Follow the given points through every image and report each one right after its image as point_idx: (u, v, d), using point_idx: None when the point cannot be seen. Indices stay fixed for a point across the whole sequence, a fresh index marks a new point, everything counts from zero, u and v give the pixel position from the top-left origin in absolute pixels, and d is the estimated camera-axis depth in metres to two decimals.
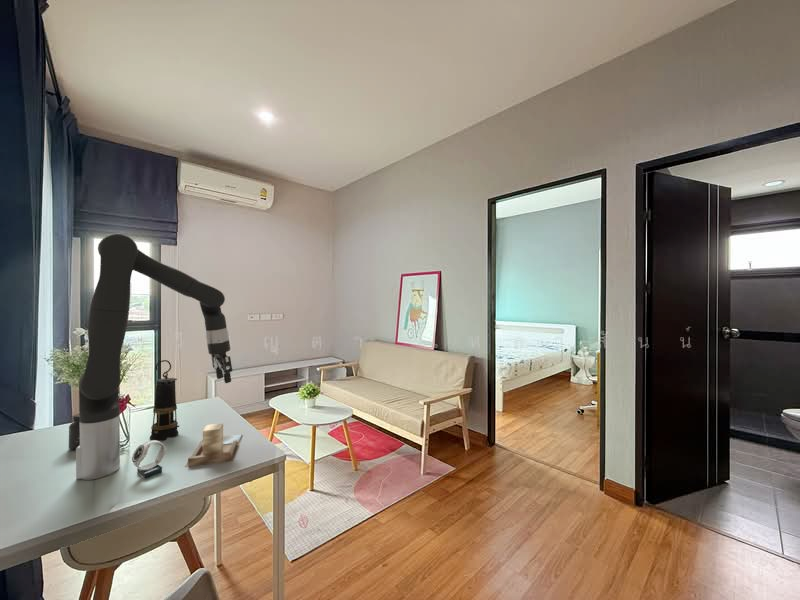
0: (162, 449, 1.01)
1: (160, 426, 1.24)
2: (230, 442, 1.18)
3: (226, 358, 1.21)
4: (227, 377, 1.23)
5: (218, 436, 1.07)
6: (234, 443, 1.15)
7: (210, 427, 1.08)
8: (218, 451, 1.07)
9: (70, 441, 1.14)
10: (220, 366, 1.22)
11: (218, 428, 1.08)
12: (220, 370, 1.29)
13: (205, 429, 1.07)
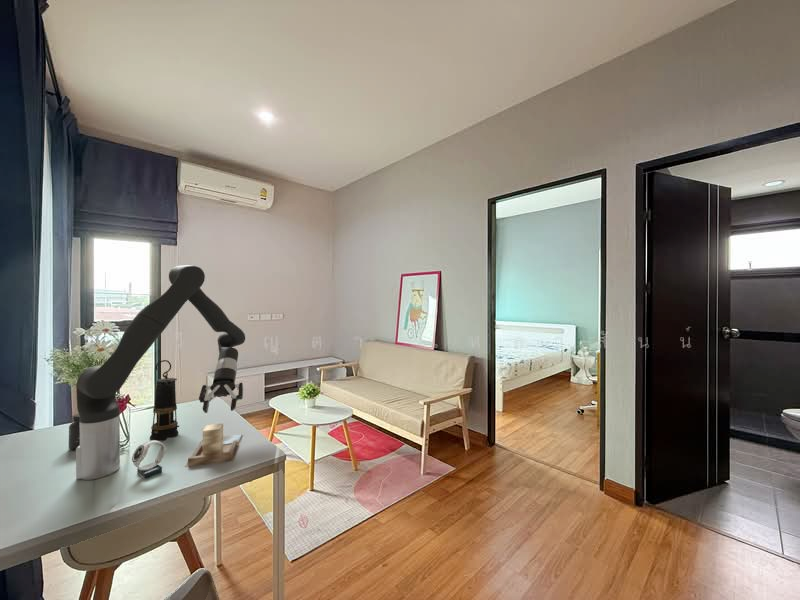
0: (162, 449, 1.01)
1: (160, 426, 1.24)
2: (230, 442, 1.18)
3: (242, 384, 1.25)
4: (235, 403, 1.20)
5: (218, 436, 1.07)
6: (234, 443, 1.15)
7: (210, 427, 1.08)
8: (218, 451, 1.07)
9: (70, 441, 1.14)
10: (232, 390, 1.21)
11: (218, 428, 1.08)
12: (208, 404, 1.18)
13: (205, 429, 1.07)
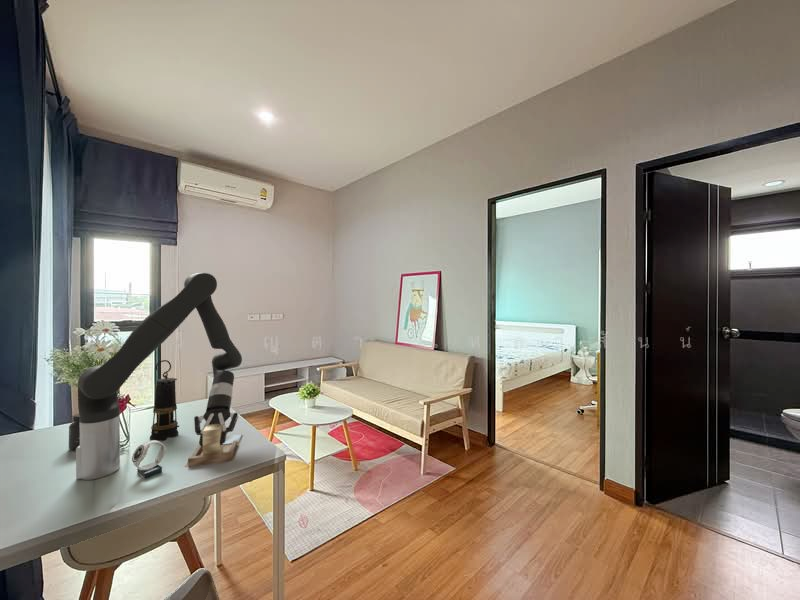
0: (162, 449, 1.01)
1: (160, 426, 1.24)
2: (230, 442, 1.18)
3: (237, 415, 1.15)
4: (225, 436, 1.10)
5: (218, 436, 1.07)
6: (234, 443, 1.15)
7: (210, 427, 1.08)
8: (218, 451, 1.07)
9: (70, 441, 1.14)
10: (224, 421, 1.11)
11: (218, 428, 1.08)
12: None
13: (205, 429, 1.07)
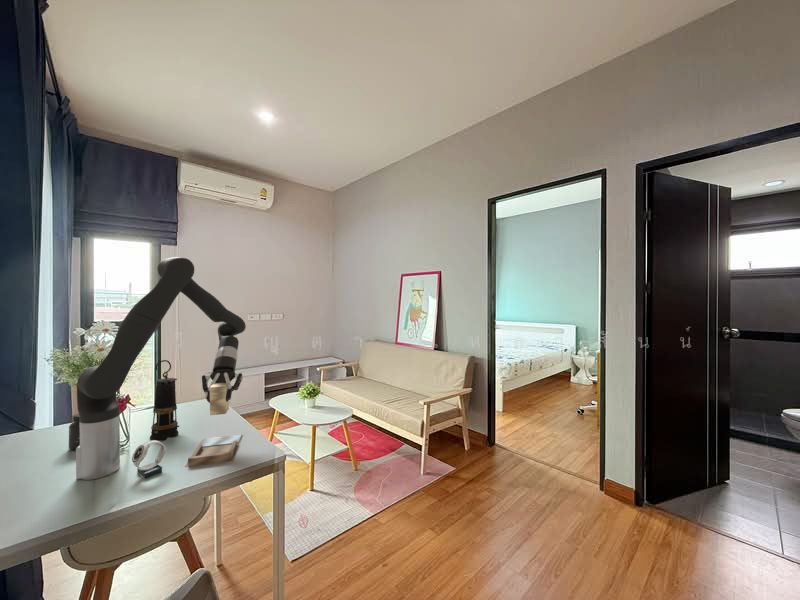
0: (162, 449, 1.01)
1: (160, 426, 1.24)
2: (230, 442, 1.18)
3: None
4: (230, 394, 1.17)
5: (224, 393, 1.15)
6: (234, 443, 1.15)
7: (216, 385, 1.16)
8: (224, 407, 1.15)
9: (70, 441, 1.14)
10: (229, 380, 1.19)
11: (224, 385, 1.15)
12: None
13: (212, 386, 1.14)
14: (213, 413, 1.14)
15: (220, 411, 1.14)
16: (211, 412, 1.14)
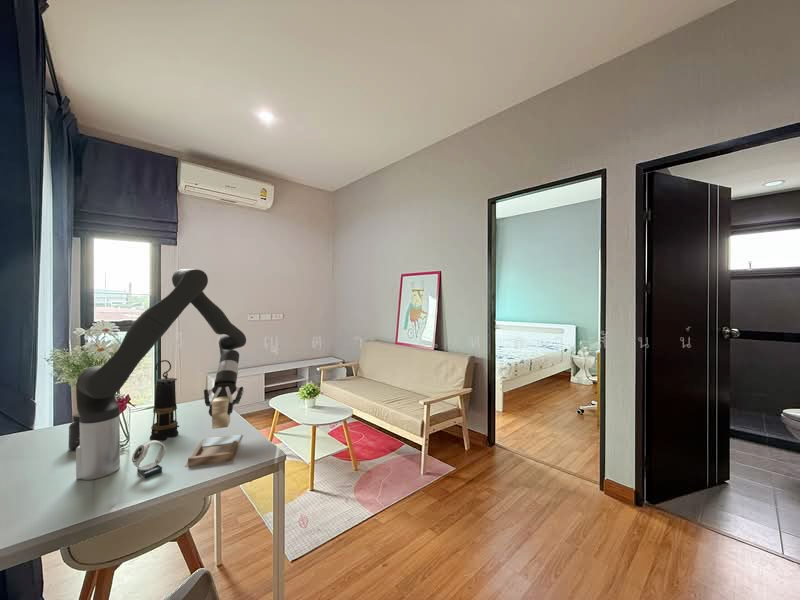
0: (162, 449, 1.01)
1: (160, 426, 1.24)
2: (230, 442, 1.18)
3: (243, 389, 1.26)
4: (232, 407, 1.20)
5: (226, 406, 1.18)
6: (234, 443, 1.15)
7: (218, 399, 1.19)
8: (226, 420, 1.18)
9: (70, 441, 1.14)
10: (231, 394, 1.22)
11: (226, 399, 1.19)
12: None
13: (214, 400, 1.18)
14: (215, 426, 1.17)
15: (222, 424, 1.18)
16: (213, 425, 1.17)
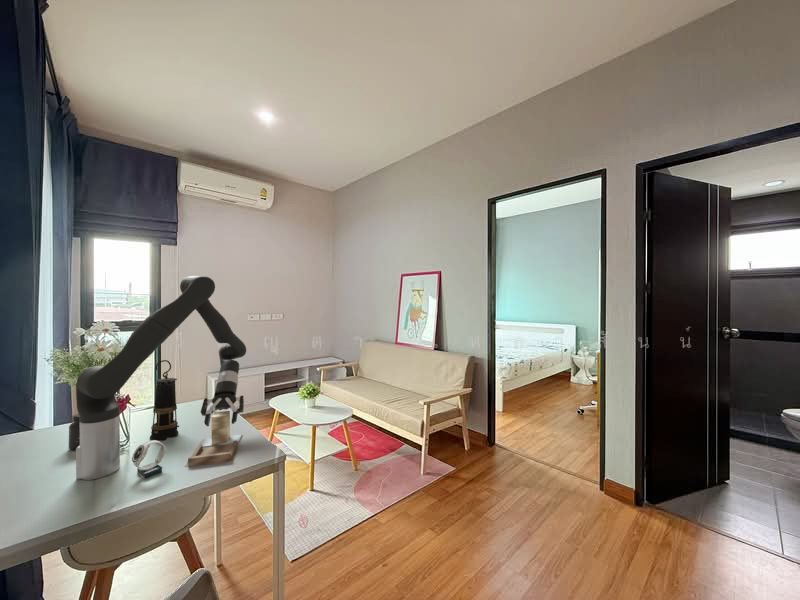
0: (162, 449, 1.01)
1: (160, 426, 1.24)
2: (230, 442, 1.18)
3: (243, 397, 1.27)
4: (236, 416, 1.21)
5: (225, 422, 1.18)
6: (234, 443, 1.15)
7: (218, 414, 1.19)
8: (225, 435, 1.18)
9: (70, 441, 1.14)
10: (233, 404, 1.23)
11: (225, 415, 1.19)
12: (210, 417, 1.20)
13: (214, 415, 1.18)
14: (214, 442, 1.17)
15: (221, 440, 1.18)
16: (213, 441, 1.17)
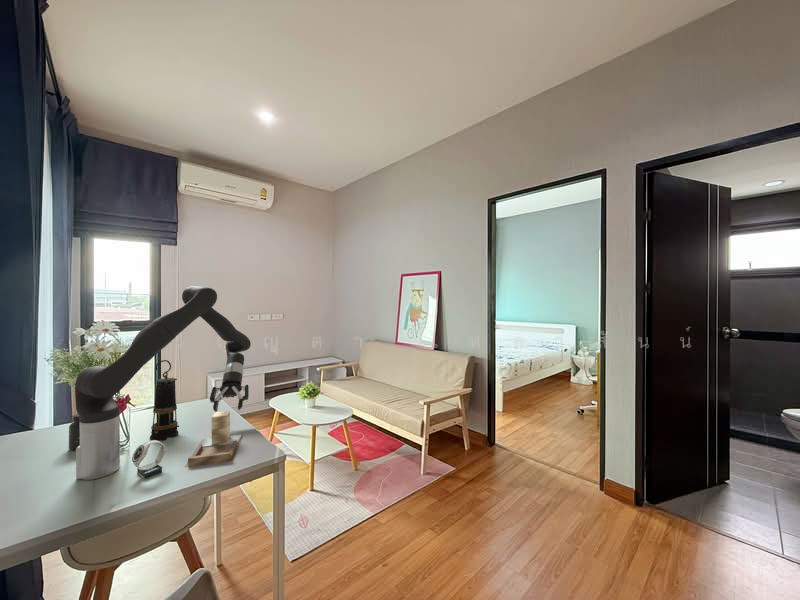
0: (162, 449, 1.01)
1: (160, 426, 1.24)
2: (230, 442, 1.18)
3: None
4: (242, 403, 1.34)
5: (225, 422, 1.18)
6: (234, 443, 1.15)
7: (218, 414, 1.19)
8: (225, 435, 1.18)
9: (70, 441, 1.14)
10: (239, 392, 1.35)
11: (225, 415, 1.19)
12: (218, 403, 1.32)
13: (214, 415, 1.18)
14: (214, 442, 1.17)
15: (221, 440, 1.18)
16: (213, 441, 1.17)
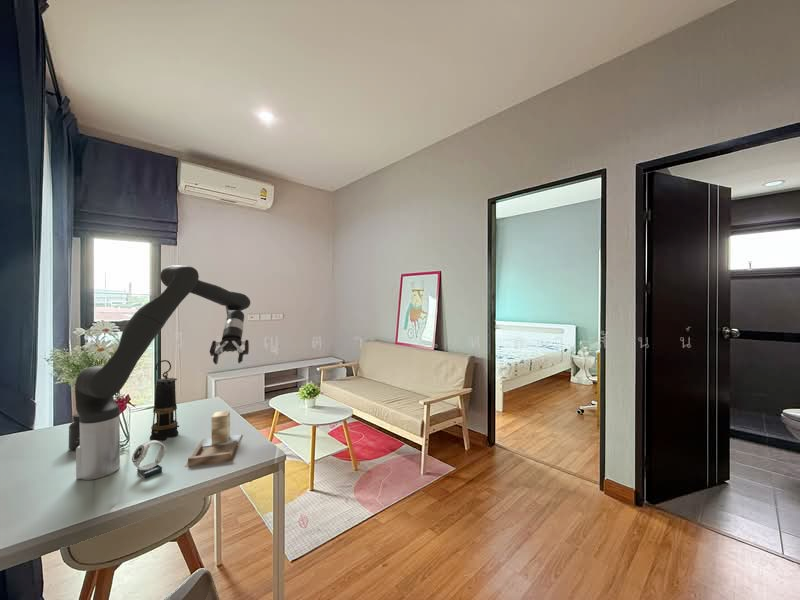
0: (162, 449, 1.01)
1: (160, 426, 1.24)
2: (230, 442, 1.18)
3: None
4: (242, 357, 1.33)
5: (225, 422, 1.18)
6: (234, 443, 1.15)
7: (218, 414, 1.19)
8: (225, 435, 1.18)
9: (70, 441, 1.14)
10: (239, 346, 1.35)
11: (225, 415, 1.19)
12: (218, 356, 1.31)
13: (214, 415, 1.18)
14: (214, 442, 1.17)
15: (221, 440, 1.18)
16: (213, 441, 1.17)
